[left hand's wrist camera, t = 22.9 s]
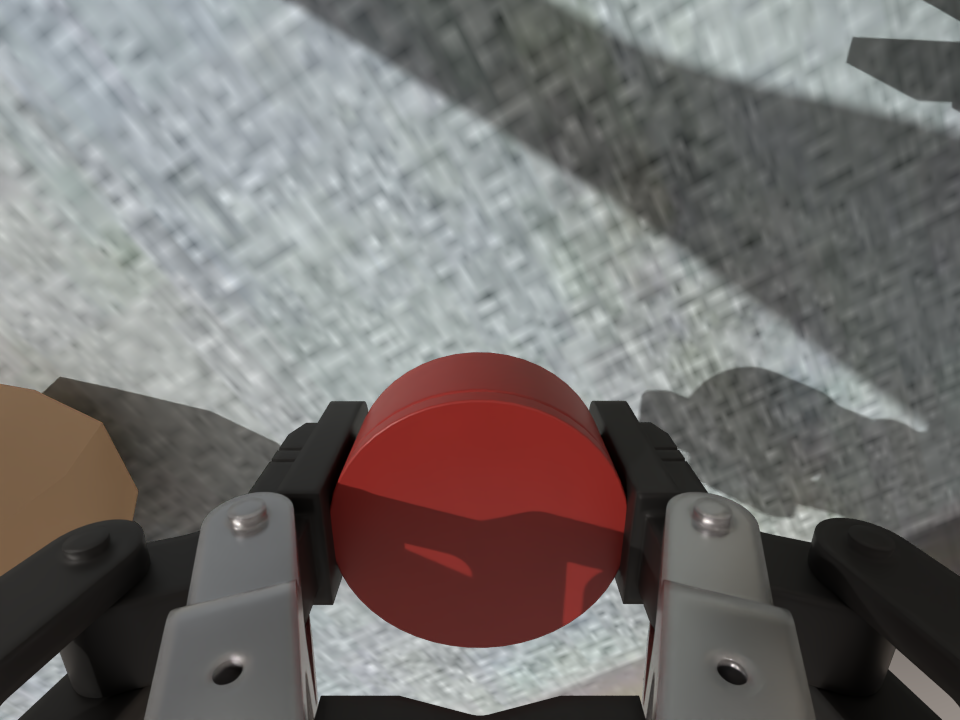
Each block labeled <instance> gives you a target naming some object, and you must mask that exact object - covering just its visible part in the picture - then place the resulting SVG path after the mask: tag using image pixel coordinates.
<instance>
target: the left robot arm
mask: <svg viewBox="0 0 960 720" xmlns="http://www.w3.org/2000/svg"><path fill="white" fill-rule="evenodd" d="M589 412H590V414H591V415H592V417H593V419H594V421H595V423H596V426H597V428H598V430H599V432H600V435H601V437H602V439H603V442H604V444H605V446H606V448H607V451H608V453H609V455H610V458H611V460H612V462H613V464H614V467H615V469H616V471H617V473H618V476H619V478H620V480H621V483H622V486H623V489H624V492H625V494H626V498H627V509H626V518H625V527H624V536H623V544H622V553H621V562H620V567H619V570H618V572H617V574H616V576H615V580H616V583H617V586H618V589H619V592H620V595H621V598H622V601H623V604H644V607H645V610H646V613H647V615H648V618H649V621H650V623H649V630H648V638H647V649H646V660H645V672H644V683H643V694H642V704H641V701H640V697H639V696H558V697H554V698H550V699H547V700H543V701H539V702H535V703H531V704H528V705H524V706H520V707H516V708H512V709H508V710H505V711H501V712H497V713H493V714H489V715H484V716H476V715H471V714H467V713H463V712H459V711H455V710H452V709H448V708H444V707H440V706H436V705H432V704H429V703H425V702H421V701H417V700H413V699H410V698H406V697H402V696H321V697H320V701H319V704H318V694H317V683H316V672H315V661H314V649H313V638H312V630H311V623H310V616H309V614H310V611H311V608H312V606H313V605H333V603H334V600H335V597H336V594H337V591H338V588H339V585H340V582H341V579H342V576H343V575H342V574H341V572H340V570H339V567H338V565H337V563H336V557H335V549H334V541H333V532H332V524H331V514H330V505H331V500H332V496H333V492H334V489H335V487H336V484H337V482H338V479H339V477H340V474H341V472H342V470H343V467H344V465H345V463H346V461H347V458H348V456H349V454H350V451H351V449H352V447H353V445H354V442H355V440H356V438H357V435H358V433H359V431H360V429H361V426H362V424H363V422H364V419H365V417H366V416H367V414H368V408H367V404H366V402H365V401H331V402H330V403H329V405H328V407H327V408H326V410H325V412H324V413H323V415H322V416H321V418H320V420H319V421H318V423H305V424H304V425H302V426H301V427H299V428H298V429H296V430H295V431H293V432H292V433H290V434H289V435H288V436H287V438H286V439H285V441H284V442H283V443H282V445H281V446H280V449H279V451H277V452H276V454H275V455H274V457H273V458H272V462H269V464H268V465H267V467H266V468H265V470H264V471H263V473H262V474H261V475H260V477H259V478H258V480H257V481H256V483H255V484H254V486H253V487H252V489H251V490H250V491H249V493H248V494H245V495H241V496H238V497H235V498H233V499H230V500H228V501H226V502H224V503H222V504H220V505H219V506H217V507H216V508H214V509H213V510H212V511H211V512H210V513H209V514H208V515H207V516H206V517H205V519H204V520H203V522H202V525H201V530H200V531H198V532H195V533H192V534H188V535H184V536H179V537H174V538H169V539H164V540H159V541H154V542H149V543H146V540H145V536H144V533H143V530H142V527H141V526H140V525H139V524H137V523H135V522H133V521H130V520H123V519H113V520H105V521H100V522H95V523H91V524H88V525H85V526H82V527H79V528H77V529H74V530H72V531H70V532H68V533H66V534H64V535H62V536H60V537H58V538H57V539H55V540H54V541H52V542H50V543H49V544H47V545H46V546H45V547H43V548H42V549H40V550H39V551H37V552H36V553H34V554H33V555H31V556H30V557H28V558H27V559H25V560H24V561H22V562H21V563H19V564H18V565H17V566H15V567H14V568H12V569H11V570H9V571H8V572H6V573H5V574H3V575H2V576H0V706H1V704H2V703H3V702H4V701H5V700H6V699H7V698H8V697H9V696H10V695H12V694H13V693H14V692H15V691H16V690H17V689H18V688H20V687H21V686H22V685H23V684H24V683H25V682H26V681H27V680H29V679H30V678H31V677H32V676H33V675H34V674H35V673H36V672H38V671H39V670H40V669H41V668H42V667H43V666H44V665H45V664H47V663H48V662H49V661H50V660H51V659H52V658H53V657H55V656H56V655H57V654H58V653H59V652H60V655H61V657H62V660H63V663H64V665H65V668H66V671H67V674H66V675H65V676H64V677H63V678H62V679H61V680H60V681H59V682H58V683H57V684H55V685H54V686H53V687H52V688H51V689H50V690H49V691H48V692H47V693H46V694H45V695H44V696H43V697H42V698H41V699H39V700H38V701H37V702H36V703H35V704H34V705H33V706H32V707H31V708H30V709H29V710H28V711H27V712H26V713H24V714H23V715H22V716H21V717H20V718H19V719H18V720H942V719H941V718H940V717H939V716H938V715H936V714H935V713H934V712H933V711H932V710H931V709H930V708H929V707H928V706H927V705H926V704H925V703H924V702H923V701H922V700H921V699H919V698H918V697H917V696H916V695H915V694H914V693H913V692H912V691H911V690H910V689H909V688H908V687H907V686H906V685H904V684H903V683H902V682H901V681H900V680H899V679H898V678H897V677H896V676H895V675H894V674H893V673H892V672H891V671H889V670H888V668H889V665H890V663H891V660H892V657H893V654H894V652H895V649H898V650H899V651H900V652H901V653H902V654H903V655H904V656H905V657H907V658H908V659H909V660H910V661H911V662H912V663H913V664H914V665H916V666H917V667H918V668H919V669H920V670H921V671H922V672H924V673H925V674H926V675H927V676H928V677H929V678H930V679H932V680H933V681H934V682H935V683H936V684H937V685H938V686H939V687H940V688H942V689H943V690H944V691H945V692H946V693H947V694H948V695H949V696H950V697H951V698H952V699H953V700H954V701H955V702H956V703H957V704H958V706H959V707H960V576H958V575H957V574H955V573H954V572H952V571H951V570H949V569H948V568H946V567H945V566H943V565H942V564H941V563H939V562H938V561H936V560H935V559H933V558H932V557H930V556H929V555H927V554H926V553H924V552H923V551H921V550H920V549H918V548H917V547H915V546H914V545H913V544H911V543H910V542H908V541H907V540H905V539H903V538H902V537H900V536H899V535H897V534H895V533H893V532H891V531H889V530H887V529H885V528H882V527H880V526H877V525H874V524H872V523H868V522H865V521H861V520H856V519H849V518H831V519H827V520H824V521H822V522H820V523H819V524H818V525H817V526H816V528H815V531H814V535H813V538H812V542H806V541H801V540H796V539H791V538H786V537H781V536H776V535H772V534H767V533H763V532H760V530H759V525H758V522H757V520H756V519H755V517H754V516H753V515H752V514H751V513H750V512H749V511H748V510H747V509H746V508H744V507H743V506H741V505H740V504H738V503H736V502H734V501H732V500H730V499H727V498H725V497H722V496H719V495H715V494H711V493H708V492H707V491H706V489H705V488H704V486H703V485H702V483H701V482H700V480H699V479H698V477H697V476H696V474H695V473H694V471H693V470H692V468H691V467H690V465H689V464H688V463H687V461H685V458H684V457H683V455H682V454H681V452H680V451H679V450H677V446H676V445H675V443H674V442H673V440H672V439H671V437H670V436H669V434H667V433H666V432H664V431H663V430H661V429H660V428H658V427H657V426H655V425H654V424H652V423H651V422H639V421H638V420H637V418H636V416H635V415H634V413H633V411H632V410H631V408H630V406H629V405H628V403H627V402H626V401H592V402H591V404H590V409H589Z"/></svg>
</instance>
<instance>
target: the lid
mask: <svg viewBox="0 0 960 720" xmlns="http://www.w3.org/2000/svg"><path fill="white" fill-rule="evenodd" d="M626 509H627V498H626V494H625V492H624V489H623V486H622V483H621V480H620V478H619V476H618V473H617V471H616V469H615V467H614V464H613V462H612V460H611V458H610V455H609V453H608V451H607V448H606V446H605V444H604V442H603V439H602V437H601V435H600V432H599V430H598V428H597V426H596V423H595V421H594V419H593V417H592V415H591V414H590V412H589V410H588V408H587V407H586V405H585V404H584V403H583V401H582V400H581V398H580V397H579V396H578V395H577V394H576V393H575V392H574V391H573V390H572V389H571V388H570V387H569V386H568V385H567V384H566V383H565V382H564V381H562V380H561V379H560V378H558V377H557V376H556V375H555V374H553V373H551V372H549V371H548V370H546V369H544V368H542V367H541V366H538V365H536V364H534V363H531V362H529V361H526V360H524V359H520V358H516V357H513V356H509V355H503V354H496V353H482V352H481V353H480V352H472V353H462V354H454V355H450V356H446V357H441V358H438V359H435V360H432V361H430V362H427V363H424V364H422V365H420V366H418V367H416V368H414V369H412V370H410V371H409V372H407V373H405V374H404V375H403V376H401V377H400V378H398V379H397V380H396V381H394V382H393V383H392V384H391V385H390V386H389V387H388V388H387V389H386V390H385V391H384V392H383V393H382V394H381V395H380V396H379V398H378V399H377V400H376V401H375V403H374V404H373V405H372V407H371V409H370V410H369V412H368V414H367V416H366V417H365V419H364V422H363V424H362V426H361V429H360V431H359V433H358V435H357V438H356V440H355V442H354V445H353V447H352V449H351V451H350V454H349V456H348V458H347V461H346V463H345V465H344V467H343V470H342V472H341V474H340V477H339V479H338V482H337V484H336V487H335V489H334V492H333V496H332V500H331V505H330V514H331V524H332V532H333V541H334V549H335V557H336V563H337V565H338V567H339V570H340V572H341V574H342V575H343V577H344V579H345V580H346V582H347V584H348V585H349V587H350V588H351V589H352V591H353V592H354V593H355V594H356V595H357V597H358V598H359V599H360V600H361V601H362V602H363V603H364V604H365V605H366V606H367V607H368V608H369V609H370V610H371V611H373V612H374V613H375V614H377V615H378V616H379V617H381V618H382V619H383V620H385V621H386V622H388V623H390V624H392V625H393V626H395V627H397V628H398V629H400V630H402V631H405V632H407V633H409V634H412V635H414V636H416V637H419V638H422V639H425V640H428V641H432V642H436V643H440V644H445V645H450V646H458V647H468V648H489V647H500V646H507V645H513V644H518V643H522V642H526V641H529V640H533V639H536V638H539V637H541V636H544V635H546V634H549V633H551V632H554V631H556V630H557V629H559V628H561V627H563V626H565V625H567V624H568V623H570V622H571V621H573V620H574V619H576V618H577V617H579V616H580V615H581V614H583V613H584V612H585V611H586V610H587V609H589V608H590V607H591V606H592V605H593V604H594V603H595V602H596V601H597V600H598V599H599V598H600V597H601V595H602V594H603V593H604V592H605V591H606V590H607V588H608V587H609V585H610V584H611V582H612V581H613V579H614V577H615V576H616V574H617V572H618V570H619V567H620V562H621V553H622V544H623V536H624V527H625V518H626Z"/></svg>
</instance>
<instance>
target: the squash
mask: <svg viewBox="0 0 960 720" xmlns="http://www.w3.org/2000/svg"><path fill="white" fill-rule="evenodd" d="M137 495H138V489H137V487H136V486H135V484H134V482H133V480H132V478H131V476H130V474H129V472H128V470H127V468H126V467H125V465H124V463H123V461H122V459H121V457H120V455H119V453H118V451H117V449H116V447H115V446H114V444H113V442H112V440H111V438H110V436H109V434H108V432H107V430H106V428H105V427H104V425H103V423H102V422H100V421H98V420H96V419H94V418H92V417H90V416H88V415H86V414H84V413H82V412H80V411H77V410H75V409H73V408H71V407H69V406H67V405H65V404H63V403H61V402H59V401H57V400H54V399H52V398H50V397H48V396H46V395H44V394H42V393H40V392H38V391H36V390H31V389H26V388H20V387H14V386H9V385H3V384H0V576H2V575H3V574H5V573H6V572H8V571H9V570H11V569H12V568H14V567H15V566H17V565H18V564H19V563H21V562H22V561H24V560H25V559H27V558H28V557H30V556H31V555H33V554H34V553H36V552H37V551H39V550H40V549H42V548H43V547H45V546H46V545H47V544H49V543H50V542H52V541H54V540H55V539H57V538H58V537H60V536H62V535H64V534H66V533H68V532H70V531H72V530H74V529H77V528H79V527H82V526H85V525H88V524H91V523H95V522H100V521H105V520H113V519H123V520H130V521H133V516H134V511H135V506H136V501H137Z"/></svg>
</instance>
